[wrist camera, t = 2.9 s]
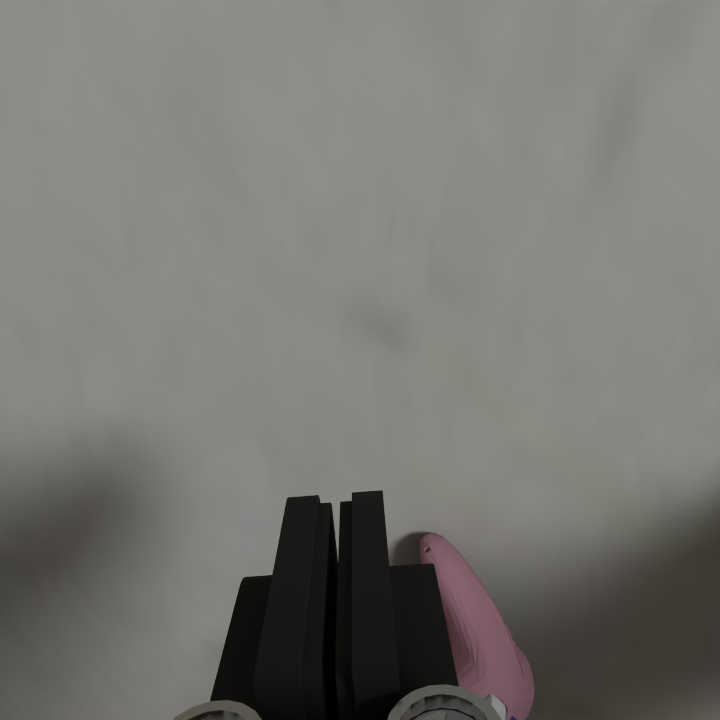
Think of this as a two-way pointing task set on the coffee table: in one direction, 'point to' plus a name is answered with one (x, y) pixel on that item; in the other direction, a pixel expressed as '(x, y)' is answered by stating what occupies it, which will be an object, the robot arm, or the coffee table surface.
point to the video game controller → (479, 634)
